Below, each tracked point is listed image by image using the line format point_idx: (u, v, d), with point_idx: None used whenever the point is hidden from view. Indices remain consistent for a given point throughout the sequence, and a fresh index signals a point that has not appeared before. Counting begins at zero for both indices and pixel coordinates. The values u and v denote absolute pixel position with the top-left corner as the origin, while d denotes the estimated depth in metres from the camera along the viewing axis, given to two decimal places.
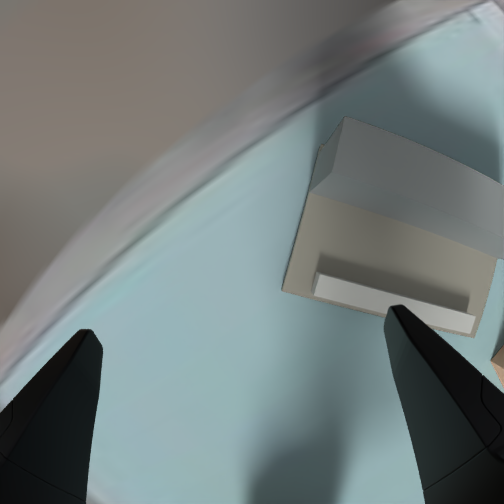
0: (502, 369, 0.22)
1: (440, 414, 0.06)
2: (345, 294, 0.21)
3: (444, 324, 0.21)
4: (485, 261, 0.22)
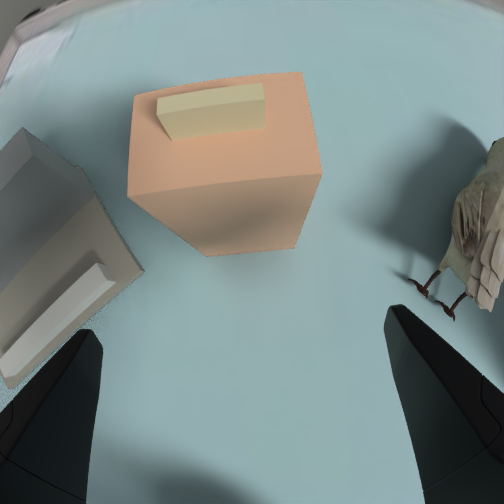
0: (205, 251, 0.20)
1: (440, 414, 0.06)
2: (12, 359, 0.20)
3: (75, 303, 0.20)
4: (84, 213, 0.23)
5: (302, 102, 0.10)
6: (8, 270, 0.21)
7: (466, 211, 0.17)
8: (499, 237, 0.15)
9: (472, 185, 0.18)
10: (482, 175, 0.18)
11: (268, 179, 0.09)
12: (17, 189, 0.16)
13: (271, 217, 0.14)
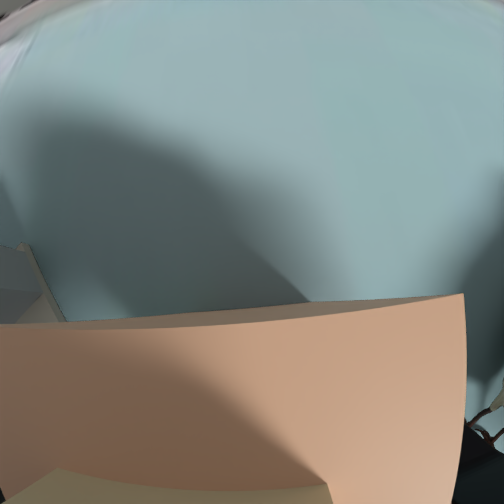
0: None
1: None
2: None
3: None
4: (34, 315, 0.15)
5: (448, 427, 0.02)
6: None
7: None
8: None
9: None
10: None
11: None
12: None
13: None
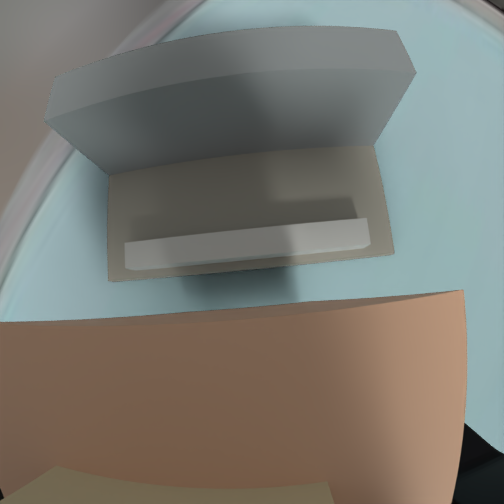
0: None
1: None
2: (158, 253, 0.18)
3: (317, 244, 0.17)
4: (355, 154, 0.20)
5: (448, 425, 0.02)
6: (221, 146, 0.19)
7: None
8: None
9: None
10: None
11: None
12: (362, 83, 0.13)
13: None
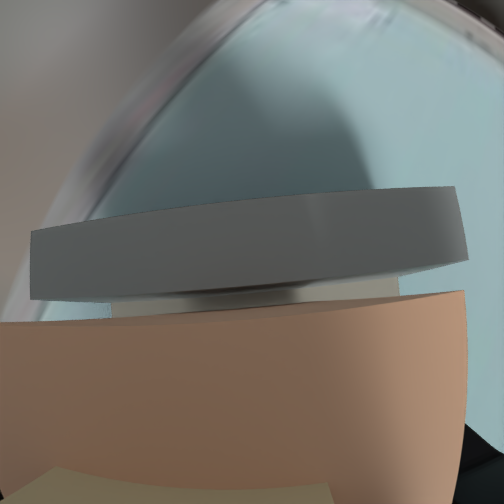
0: None
1: None
2: None
3: None
4: (377, 290, 0.18)
5: (449, 425, 0.02)
6: None
7: None
8: None
9: None
10: None
11: None
12: (405, 270, 0.12)
13: None
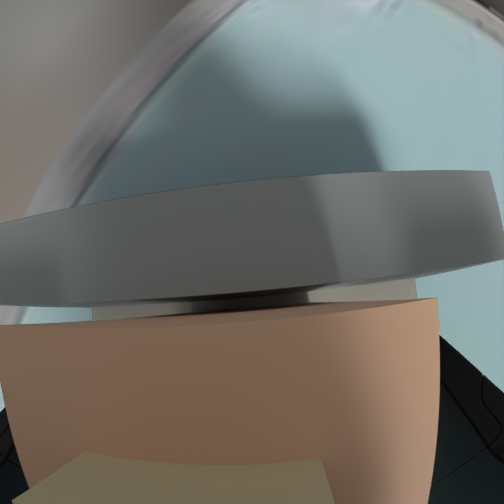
0: None
1: (441, 414, 0.06)
2: None
3: None
4: (393, 293, 0.16)
5: (424, 412, 0.03)
6: (229, 298, 0.15)
7: None
8: None
9: None
10: None
11: None
12: None
13: None
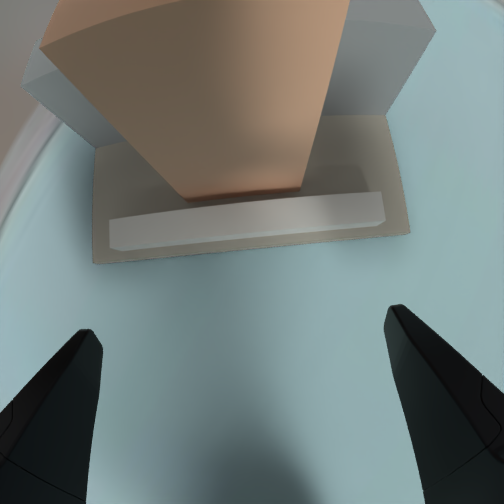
0: (184, 191, 0.15)
1: (440, 414, 0.06)
2: (146, 230, 0.16)
3: (325, 220, 0.15)
4: (366, 124, 0.17)
5: None
6: None
7: None
8: None
9: None
10: None
11: None
12: (377, 39, 0.10)
13: (270, 111, 0.09)
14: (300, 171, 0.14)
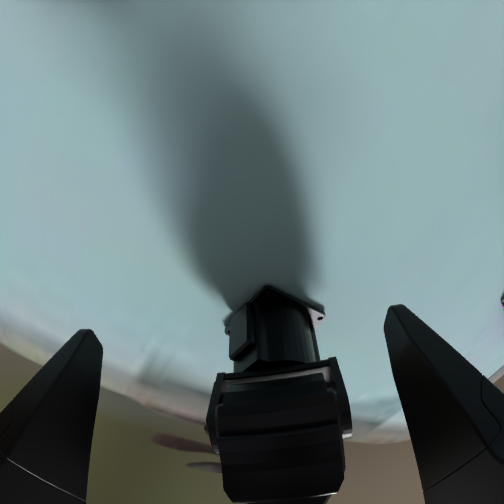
0: None
1: (440, 414, 0.06)
2: None
3: None
4: None
5: None
6: None
7: None
8: None
9: None
10: None
11: None
12: None
13: None
14: None
